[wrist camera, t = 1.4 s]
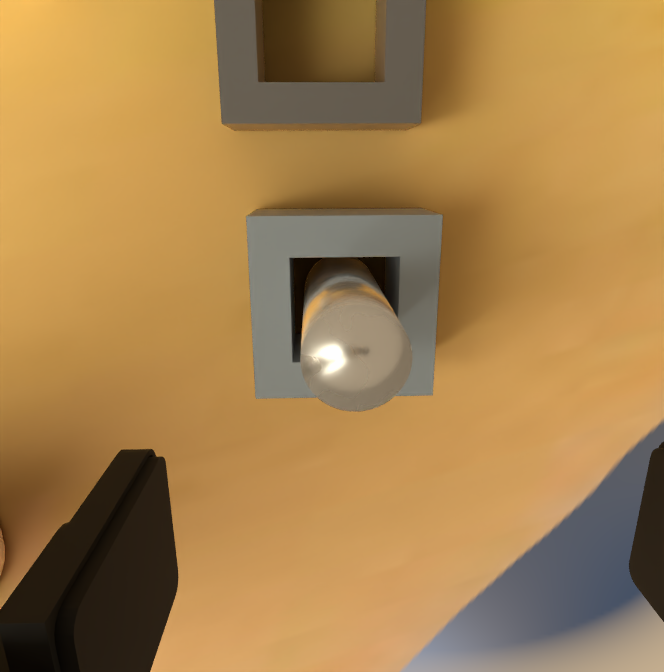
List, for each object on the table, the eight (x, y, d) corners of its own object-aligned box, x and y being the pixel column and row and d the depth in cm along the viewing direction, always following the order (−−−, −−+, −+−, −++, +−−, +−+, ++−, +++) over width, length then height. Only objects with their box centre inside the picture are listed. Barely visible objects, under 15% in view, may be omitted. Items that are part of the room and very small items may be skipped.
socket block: (414, 361, 32) (432, 395, 27) (264, 364, 31) (255, 398, 27) (421, 208, 29) (442, 214, 24) (257, 208, 29) (246, 216, 24)
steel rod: (373, 322, 31) (410, 410, 19) (305, 323, 31) (301, 412, 19) (375, 253, 30) (414, 304, 18) (304, 254, 29) (298, 305, 18)
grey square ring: (405, 130, 28) (420, 123, 24) (234, 130, 27) (222, 123, 24) (412, -72, 25) (430, -117, 21) (223, -74, 25) (206, -120, 21)
